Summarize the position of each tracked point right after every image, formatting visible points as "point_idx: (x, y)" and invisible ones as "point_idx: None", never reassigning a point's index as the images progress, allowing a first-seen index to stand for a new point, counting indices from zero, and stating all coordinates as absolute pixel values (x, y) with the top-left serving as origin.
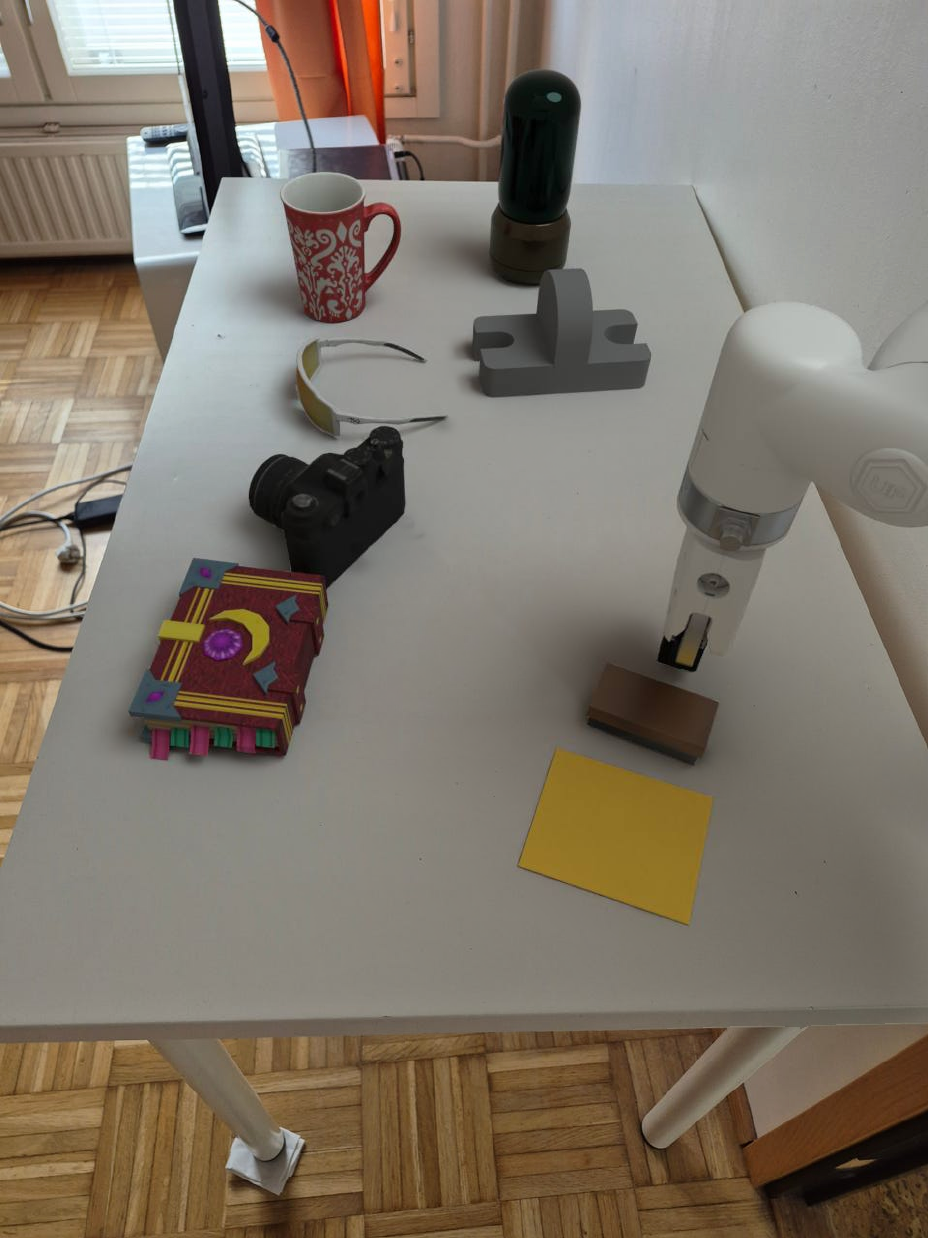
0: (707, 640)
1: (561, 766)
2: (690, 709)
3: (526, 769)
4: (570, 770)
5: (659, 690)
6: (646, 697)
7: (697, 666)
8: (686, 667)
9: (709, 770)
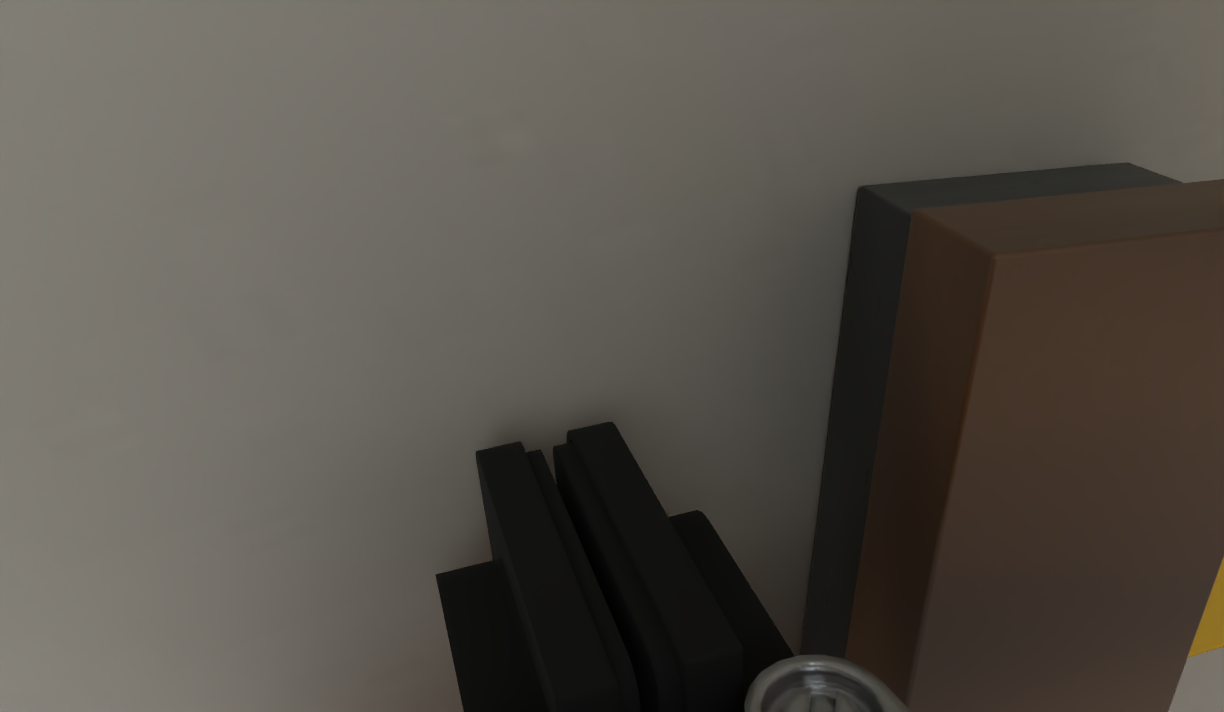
0: (716, 661)
1: (1203, 625)
2: (1087, 399)
3: (1211, 695)
4: (1217, 595)
5: (989, 595)
6: (1054, 627)
7: (628, 451)
8: (706, 520)
9: (1138, 71)
